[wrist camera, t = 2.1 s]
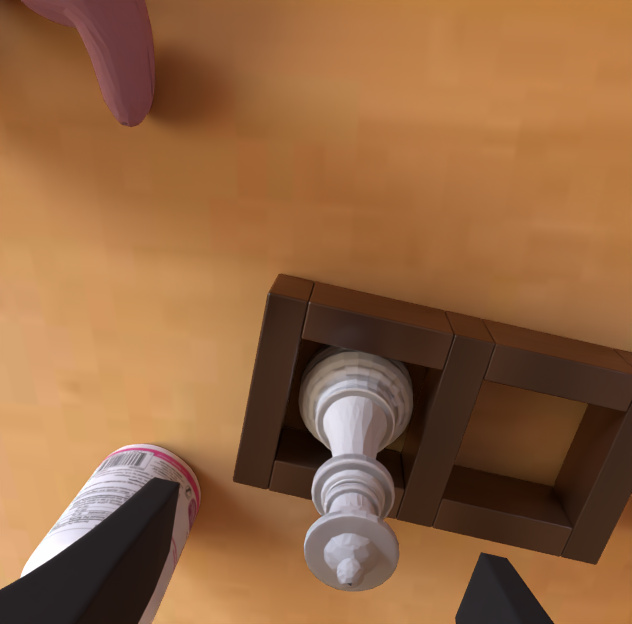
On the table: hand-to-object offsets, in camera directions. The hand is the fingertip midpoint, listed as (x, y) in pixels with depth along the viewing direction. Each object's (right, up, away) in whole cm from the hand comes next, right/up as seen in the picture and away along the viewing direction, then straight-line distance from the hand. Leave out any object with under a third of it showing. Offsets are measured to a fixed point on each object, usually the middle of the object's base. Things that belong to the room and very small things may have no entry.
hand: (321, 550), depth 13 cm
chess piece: (+1, +3, +9) cm, 10 cm away
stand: (+5, +2, +9) cm, 10 cm away
